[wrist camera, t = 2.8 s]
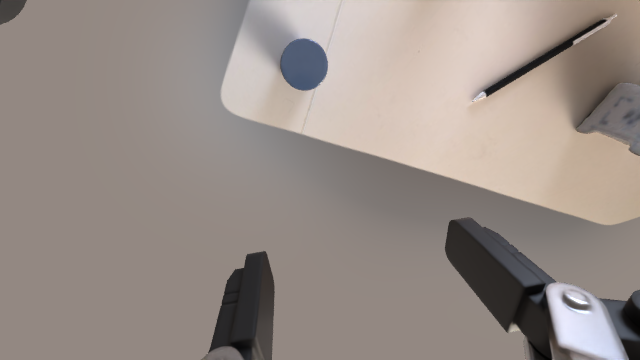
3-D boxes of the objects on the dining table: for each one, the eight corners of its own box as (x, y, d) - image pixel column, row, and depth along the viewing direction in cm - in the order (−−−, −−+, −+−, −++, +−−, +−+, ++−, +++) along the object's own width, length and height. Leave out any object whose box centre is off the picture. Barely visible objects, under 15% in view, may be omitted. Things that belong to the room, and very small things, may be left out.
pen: (611, 19, 31) (622, 18, 30) (470, 104, 34) (476, 105, 33) (611, 12, 31) (622, 10, 30) (468, 98, 34) (474, 99, 33)
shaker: (277, 73, 29) (273, 78, 21) (289, 38, 28) (290, 28, 20) (308, 88, 30) (316, 98, 22) (322, 54, 29) (335, 52, 21)
